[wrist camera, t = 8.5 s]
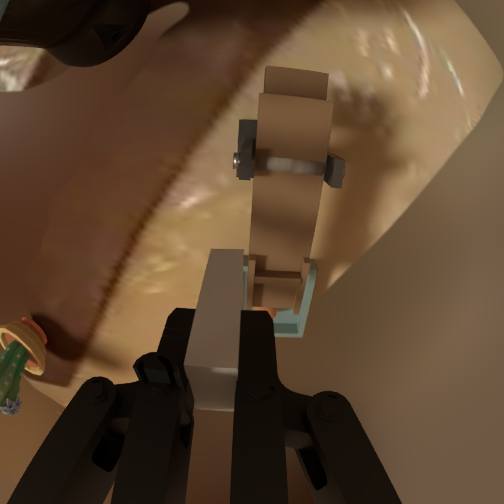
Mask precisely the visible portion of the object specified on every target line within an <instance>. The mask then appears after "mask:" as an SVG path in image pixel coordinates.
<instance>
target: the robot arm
mask: <svg viewBox="0 0 504 504" xmlns="http://www.w3.org/2000/svg"><path fill="white" fill-rule="evenodd" d="M149 6H150V0H0V45H7V46H24V47H35V48H43V49H45V50H47V51H48V52H49V53H50V54H52V55H53V56H54V57H56V58H57V59H58V60H59V61H60V62H61V63H63V64H66V65H69V66H75V67H91V66H95V65H98V64H101V63H103V62H105V61H107V60H109V59H111V58H112V57H114V56H115V55H117V54H118V53H119V52H121V51H122V50H123V49H124V48H125V47H126V46H127V45H128V44H129V43H130V42H131V41H132V40H133V39H134V38H135V36H136V35H137V34H138V32H139V31H140V29H141V28H142V26H143V24H144V22H145V20H146V18H147V15H148V11H149ZM243 254H244V250H240V249H211V251H210V255H209V259H208V263H207V267H206V271H205V275H204V279H203V283H202V287H201V291H200V295H199V299H198V303H197V307H196V309H188V308H176V309H175V310H174V311H173V312H172V313H171V314H170V315H169V316H168V318H167V321H166V324H165V329H164V331H163V334H162V337H161V340H160V343H159V346H158V350H157V352H150V353H147V354H145V355H142V356H141V357H140V358H139V359H137V360H136V362H135V363H134V365H133V368H134V370H135V373H136V375H137V377H138V379H139V381H136V382H132V383H125V384H116V385H114V384H113V382H112V381H110V380H109V379H108V378H105V377H101V376H100V377H93V378H91V379H88V380H87V381H86V382H85V383H84V384H83V385H82V386H81V387H80V389H79V390H78V391H77V393H76V394H75V396H74V397H73V398H72V400H71V401H70V403H69V404H68V406H67V407H66V409H65V410H64V412H63V413H62V414H61V416H60V417H59V419H58V420H57V422H56V423H55V425H54V426H53V428H52V429H51V431H50V432H49V434H48V435H47V437H46V439H45V440H44V442H43V443H42V445H41V447H40V448H39V449H38V451H37V453H36V454H35V456H34V457H33V459H32V461H31V462H30V464H29V466H28V467H27V469H26V471H25V473H24V474H23V476H22V478H21V479H20V481H19V483H18V485H17V486H16V488H15V490H14V492H13V493H12V495H11V497H10V499H9V501H8V503H7V504H103V502H104V500H105V499H106V496H107V495H108V493H109V491H110V489H111V487H112V485H113V483H114V481H115V484H114V489H113V494H112V499H111V504H185V500H186V491H187V481H188V470H189V463H190V454H191V445H192V437H193V429H194V417H193V408H194V404H195V407H196V409H206V410H219V411H234V422H233V423H234V424H233V443H232V466H231V490H230V504H288V488H287V471H286V454H285V446H286V447H291V448H294V449H295V452H296V454H297V457H298V459H299V462H300V465H301V467H302V470H303V473H304V475H305V478H306V480H307V483H308V485H309V488H310V491H311V493H312V496H313V498H314V501H315V503H316V504H402V503H401V501H400V499H399V497H398V495H397V493H396V491H395V489H394V487H393V485H392V483H391V481H390V479H389V477H388V475H387V473H386V471H385V469H384V467H383V465H382V463H381V461H380V460H379V458H378V456H377V454H376V452H375V450H374V448H373V446H372V444H371V442H370V440H369V439H368V437H367V435H366V433H365V431H364V430H363V427H362V425H361V423H360V421H359V420H358V418H357V416H356V414H355V412H354V411H353V408H352V407H351V404H350V403H349V401H348V400H347V399H346V398H345V397H344V396H342V395H341V394H339V393H338V392H332V391H323V392H320V393H317V394H316V395H313V397H312V396H308V395H303V394H299V393H296V392H293V391H291V390H289V389H287V388H286V387H285V386H284V385H283V384H282V383H281V381H280V380H279V378H278V373H277V361H276V349H275V335H274V323H273V319H272V317H271V316H270V314H269V313H268V311H265V310H242V306H243Z"/></svg>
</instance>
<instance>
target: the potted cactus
mask: <svg viewBox="0 0 504 504" xmlns="http://www.w3.org/2000/svg"><path fill="white" fill-rule="evenodd" d="M0 342H1V345H2V346H3V347H4V349H5V351H4V353H3V354H2V356H1V358H0V412H2V411H3V413H4V414H6V415H14V414H15V413H17V412H18V411H19V409H20V407H21V403H22V401H21V402H20V398H19V396H18V394H19V388H20V380H21V377H22V374H23V371H24V369H26V370H28V371H29V372H31V373H33V374H37V375H41V374H42V373H43V372H44V369H45V364H44V360H45V354H46V351H45V344H46V343H47V338H46V335H45V333H44V332H43V330H42V329H41V327H40V326H39V325H37V324H36V323H35V322H34V321H33V320H31V319H29V318H28V317H23V318H22V320H21V321H16V322H11V323H9V324H8V325H1V326H0Z"/></svg>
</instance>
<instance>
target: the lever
mask: <svg viewBox="0 0 504 504" xmlns="http://www.w3.org/2000/svg"><path fill="white" fill-rule="evenodd" d="M328 76H329V74H327V73H321V72H315V71H308V70H301V69H293V68H284V67H274V66H266V68H265V79H264V93H259V108H258V122H257V137H256V152H255V167H254V182H253V198H252V213H251V228H250V244H249V260H248V275H247V291H246V310H252V307H270V308H293V314H294V315H299V312H300V308H301V303H302V299H303V295H304V291H305V286H306V282H307V277H308V273H309V268H310V260H309V257H310V252H311V247H312V242H313V237H314V232H315V226H316V221H317V215H318V209H319V204H320V198H321V192H322V186H323V179H324V173H325V166H326V160H327V153H328V145H329V138H330V130H331V122H332V113H333V104H334V102H331V101H326V97H327V87H328Z"/></svg>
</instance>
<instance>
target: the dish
mask: <svg viewBox="0 0 504 504" xmlns="http://www.w3.org/2000/svg"><path fill="white" fill-rule="evenodd" d="M248 260H249V256H243V306H242V310H246V291H247V275H248ZM309 260H310V268H309V273H308V277H307V282H306V286H305V291H304V295H303V299H302V303H301V308H300V312H299V315H294V314H293V308H277V314H276V316H275V317H274V318H273V323H274V335H275V337H302V336H303V332H304V328H305V324H306V320H307V316H308V312H309V308H310V303H311V299H312V294H313V290H314V285H315V281H316V276H317V271H318V269H317V267H316V264H315V261H314V260H312V259H309ZM252 310H254V307H252Z"/></svg>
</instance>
